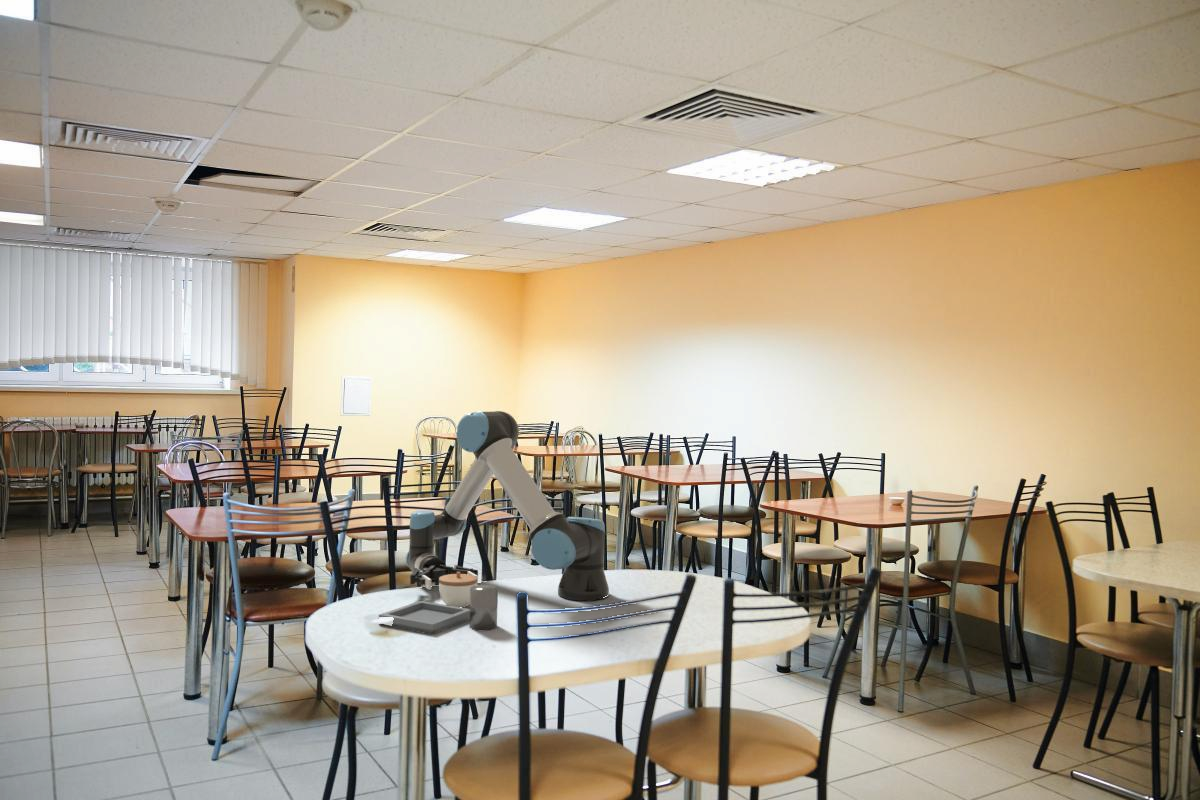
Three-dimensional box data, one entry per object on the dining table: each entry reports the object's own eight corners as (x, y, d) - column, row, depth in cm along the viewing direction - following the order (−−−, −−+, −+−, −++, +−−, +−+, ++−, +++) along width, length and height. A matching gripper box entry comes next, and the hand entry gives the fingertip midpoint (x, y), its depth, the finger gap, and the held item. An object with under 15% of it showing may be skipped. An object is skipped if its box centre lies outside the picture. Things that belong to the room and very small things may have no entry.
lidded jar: (480, 601, 250) (481, 569, 250) (471, 611, 239) (472, 577, 239) (444, 599, 251) (444, 567, 251) (433, 609, 241) (434, 575, 240)
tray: (472, 618, 232) (472, 609, 232) (432, 634, 216) (432, 624, 216) (420, 609, 239) (420, 600, 239) (378, 624, 224) (378, 614, 224)
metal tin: (502, 625, 226) (503, 587, 226) (486, 632, 220) (488, 592, 220) (479, 621, 229) (480, 583, 229) (463, 627, 223) (464, 588, 223)
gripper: (469, 576, 272) (494, 592, 253) (389, 583, 260) (409, 599, 242) (470, 552, 272) (495, 566, 253) (390, 558, 260) (410, 572, 241)
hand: (453, 582), depth 247 cm, fingers open, 13 cm apart
